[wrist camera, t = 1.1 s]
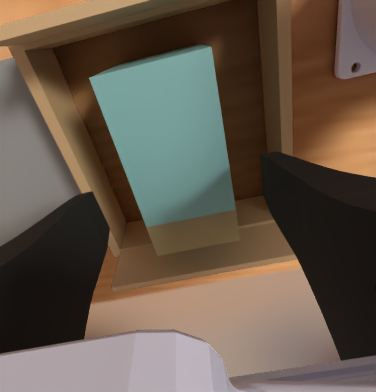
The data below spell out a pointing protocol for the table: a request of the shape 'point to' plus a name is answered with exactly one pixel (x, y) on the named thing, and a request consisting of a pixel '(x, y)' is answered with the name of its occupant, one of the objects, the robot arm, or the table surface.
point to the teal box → (172, 146)
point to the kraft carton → (89, 160)
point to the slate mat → (27, 159)
